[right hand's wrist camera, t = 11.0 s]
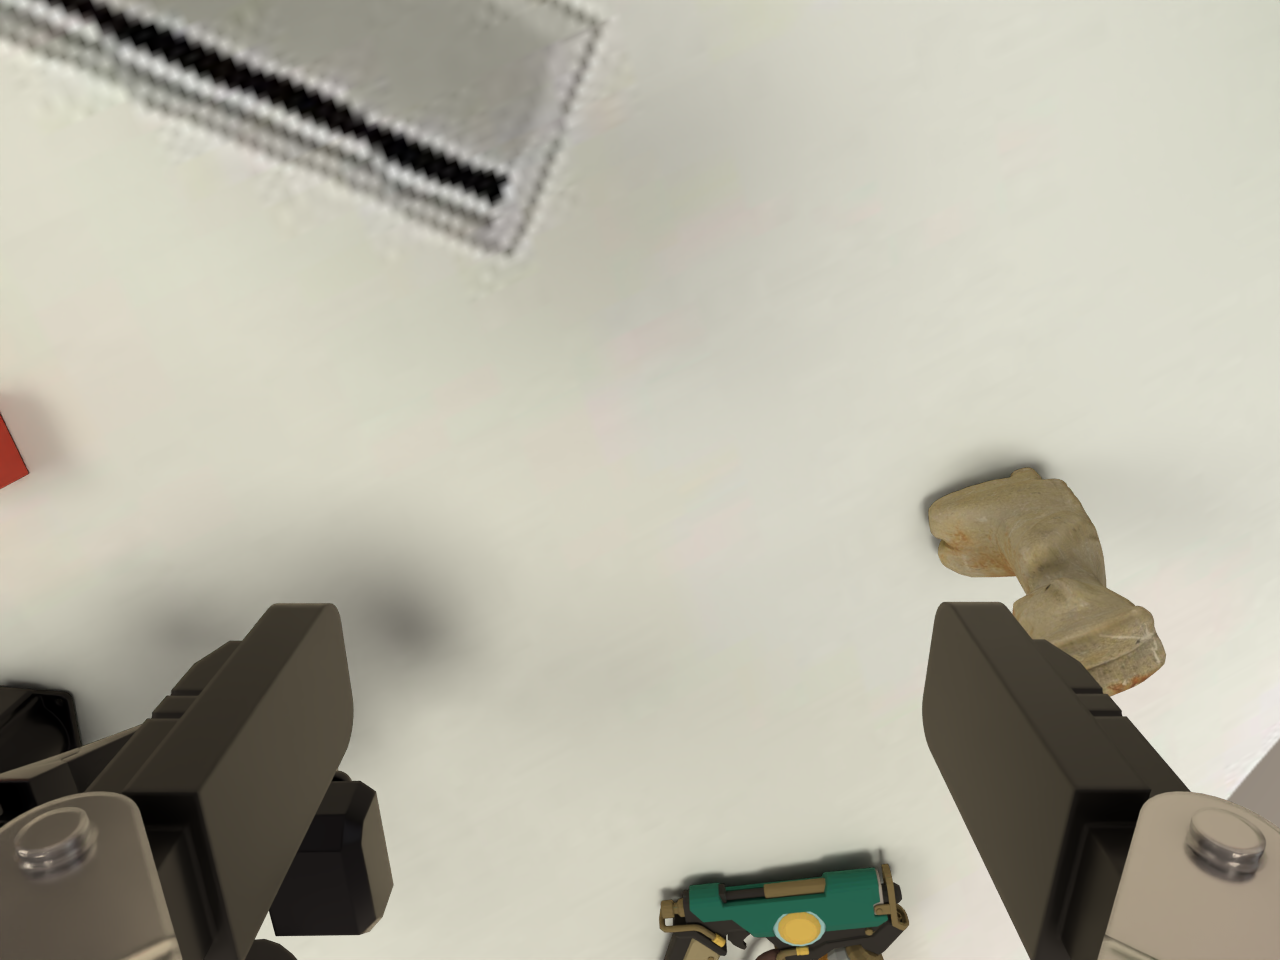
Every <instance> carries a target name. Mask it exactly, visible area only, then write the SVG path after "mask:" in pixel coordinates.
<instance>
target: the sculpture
mask: <svg viewBox="0 0 1280 960" xmlns="http://www.w3.org/2000/svg"><path fill="white" fill-rule="evenodd" d="M928 515H929V526H930V531H931V533H932V534H933V535H934V536H935V538H938V539H942V540H941V542H940V544H939V547H938V555H939V558H940V560H941V562H942V564H943V565H944V566H946V567H947V568H949V569H951V570H953V571H955V572H957V573H959V574H962V575H965V576H970V577H1008V576H1016V577H1017V579H1018V580H1019V582H1020V584H1021V586H1022V588H1023V589H1024V591H1025V593H1026V596H1024V597H1022V598H1020V599H1019V600H1017V601H1016V602H1014V604H1013V613H1012V614H1013V616H1014V617H1015V618H1016V619H1017V621H1018V622H1019V623H1020V624H1021V626H1022V627H1023V628H1024V629H1025V631H1026V632H1027V633H1028V635H1029V636H1030V637H1031V638H1032V639H1045V640H1047V641H1048V642H1050V643H1051V644H1053V645H1055V646H1056V647H1058V648H1059V649H1061V650H1062V651H1064V652H1065V653H1067V654H1069V655H1070V656H1072V657H1073V658H1075V659H1076V660H1078V661H1079V662H1081V664H1082V665H1083V666H1084V667H1085V668H1086V669H1087V671H1088V672H1089V673H1090V674H1091V675H1092V676H1093V678H1094V679H1095V680H1096V681H1097V682H1098V683H1099V685H1100V686H1101V687H1102V688H1103V694H1108V695H1109V696H1113V695H1115V694H1118V693H1120V692H1123V691H1125V690H1127V689H1130V688H1132V687H1134V686H1136V685H1138V684H1140V683H1141V682H1143V681H1145V680H1146V679H1147V678H1149V677H1150V676H1151V675H1153V674H1154V673H1155V672H1156V671H1157V670H1159V669H1160V668H1161V667H1162V666H1163V665H1164V663H1165V658H1166V653H1165V650H1164V647H1163V645H1162V642H1161V640H1160V639H1159V637H1158V635H1157V633H1156V630H1155V627H1154V619H1153V616H1152V614H1151V613H1150V612H1149V611H1148V610H1146V609H1145V608H1143V607H1141V606H1135V605H1134V604H1133V603H1132V602H1130V601H1129V600H1128V599H1126V598H1124V597H1122V596H1121V595H1119V594H1117V593H1115V592H1113V591H1111V590H1109V589H1108V588H1106V575H1105V566H1104V557H1103V552H1102V548H1101V544H1100V541H1099V538H1098V535H1097V531H1096V529H1095V526H1094V525H1093V523H1092V522H1091V520H1090V518H1089V517H1088V515H1087V514H1086V512H1085V510H1084V509H1083V507H1082V505H1081V503H1080V501H1079V500H1078V499H1077V497H1076V496H1075V495H1074V494H1073V492H1072V491H1071V489H1070V488H1069V487H1067V484H1066V483H1065V482H1064V481H1062V480H1060V479H1044V480H1042V478H1041V476H1040V475H1039V474H1038V473H1037V472H1036V471H1035V470H1034V469H1032V468H1021V469H1018V470H1016V471H1014V472H1013V473H1012V474H1011V476H1010V477H1009V478H1003V479H996V480H991V481H987V482H984V483H980V484H977V485H973V486H970V487H967V488H964V489H962V490H959V491H956V492H952V493H950V494H948V495H946V496H944V497H942V498H940V499H938V500H936V501H935V502H934V503H933V504H932V505H931V507H930V508H929V510H928Z"/></svg>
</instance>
